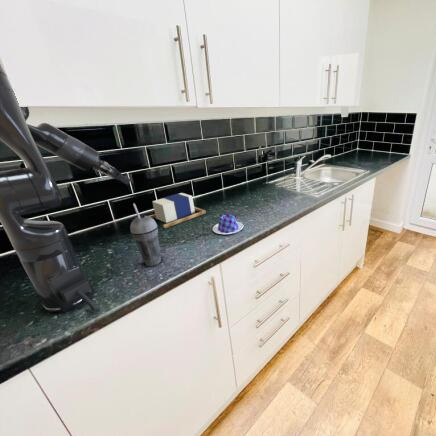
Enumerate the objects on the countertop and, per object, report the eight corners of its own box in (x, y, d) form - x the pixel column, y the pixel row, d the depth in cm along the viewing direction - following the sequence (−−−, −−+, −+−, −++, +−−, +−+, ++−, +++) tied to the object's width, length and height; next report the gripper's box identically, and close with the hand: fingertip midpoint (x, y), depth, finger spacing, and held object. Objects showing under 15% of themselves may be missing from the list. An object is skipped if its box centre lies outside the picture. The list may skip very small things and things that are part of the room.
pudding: (249, 230, 101) (248, 217, 98) (220, 239, 94) (218, 226, 92) (235, 220, 109) (234, 208, 107) (208, 227, 103) (206, 215, 101)
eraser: (166, 223, 107) (162, 205, 104) (156, 218, 111) (151, 201, 108) (195, 212, 117) (192, 195, 114) (184, 208, 122) (181, 192, 118)
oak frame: (164, 228, 102) (164, 225, 102) (146, 219, 111) (146, 216, 110) (206, 213, 116) (205, 210, 116) (187, 206, 125) (187, 203, 124)
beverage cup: (170, 257, 83) (157, 199, 75) (155, 269, 77) (138, 208, 68) (151, 254, 85) (136, 197, 76) (134, 266, 78) (115, 206, 70)
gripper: (90, 144, 78) (142, 175, 91) (76, 141, 85) (126, 171, 99) (75, 165, 76) (130, 193, 90) (62, 160, 83) (115, 187, 97)
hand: (128, 181), depth 94 cm, fingers closed
